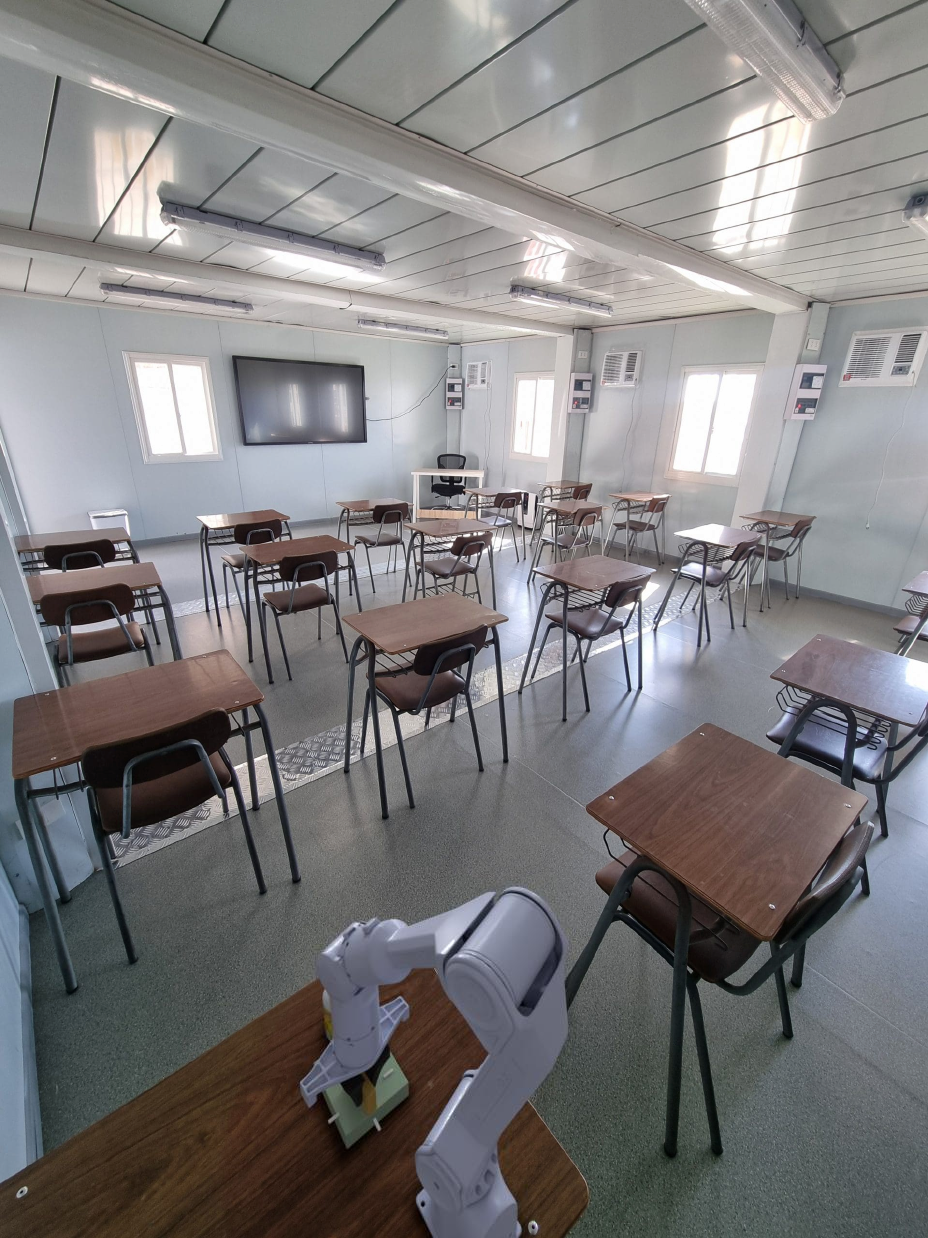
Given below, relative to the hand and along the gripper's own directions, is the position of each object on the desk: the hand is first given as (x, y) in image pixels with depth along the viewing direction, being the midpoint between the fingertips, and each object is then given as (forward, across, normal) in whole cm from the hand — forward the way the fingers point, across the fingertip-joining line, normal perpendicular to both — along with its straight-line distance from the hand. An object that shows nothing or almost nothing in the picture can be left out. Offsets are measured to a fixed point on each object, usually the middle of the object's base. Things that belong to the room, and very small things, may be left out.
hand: (361, 1093), depth 65 cm
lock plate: (+3, -1, -1) cm, 3 cm away
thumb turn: (0, 0, 0) cm, 0 cm away
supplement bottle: (+3, -3, -10) cm, 11 cm away
